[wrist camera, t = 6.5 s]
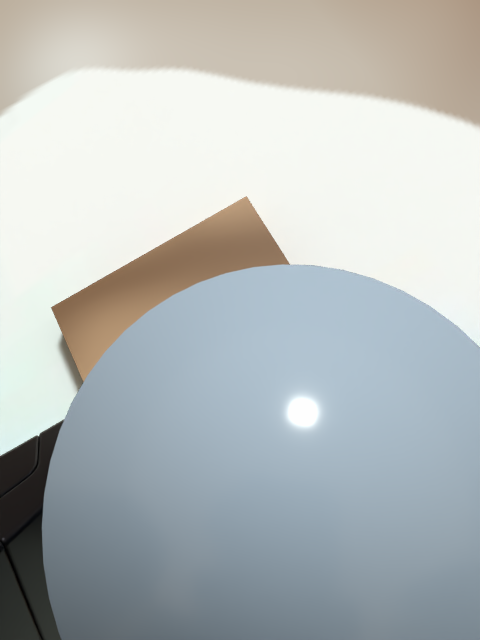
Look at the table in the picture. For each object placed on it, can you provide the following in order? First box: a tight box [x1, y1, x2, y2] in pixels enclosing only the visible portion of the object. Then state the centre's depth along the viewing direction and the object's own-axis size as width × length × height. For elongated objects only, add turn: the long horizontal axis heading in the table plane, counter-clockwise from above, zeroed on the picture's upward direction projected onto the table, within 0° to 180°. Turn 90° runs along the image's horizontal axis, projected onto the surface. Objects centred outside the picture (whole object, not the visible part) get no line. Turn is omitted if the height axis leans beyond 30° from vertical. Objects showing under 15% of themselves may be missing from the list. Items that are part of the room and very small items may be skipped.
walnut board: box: [51, 196, 290, 382], centre depth 19 cm, size 18×10×2 cm, turn 29°
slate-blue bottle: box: [42, 264, 480, 640], centre depth 9 cm, size 5×5×14 cm
